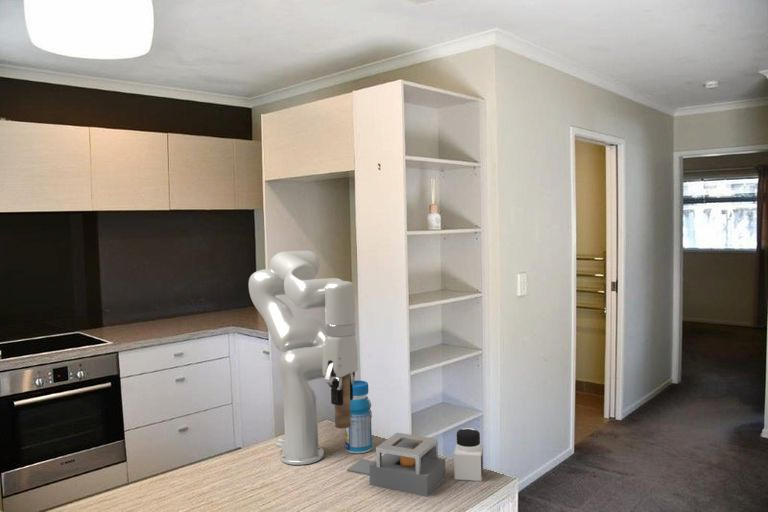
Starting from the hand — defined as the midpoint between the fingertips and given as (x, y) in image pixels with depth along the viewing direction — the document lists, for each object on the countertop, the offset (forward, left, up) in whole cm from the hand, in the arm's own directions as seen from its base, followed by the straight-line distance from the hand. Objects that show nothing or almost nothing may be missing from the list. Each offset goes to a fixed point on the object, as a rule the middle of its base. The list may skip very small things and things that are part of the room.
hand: (342, 401), depth 149 cm
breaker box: (+13, +10, -22) cm, 28 cm away
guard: (+13, +10, -17) cm, 24 cm away
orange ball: (+13, +10, -20) cm, 26 cm away
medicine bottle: (+26, +20, -22) cm, 40 cm away
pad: (-1, +13, -22) cm, 26 cm away
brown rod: (0, 0, -6) cm, 6 cm away
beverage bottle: (-10, +24, -22) cm, 34 cm away
